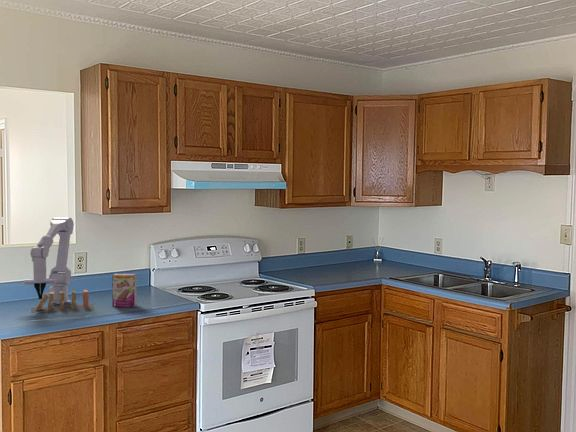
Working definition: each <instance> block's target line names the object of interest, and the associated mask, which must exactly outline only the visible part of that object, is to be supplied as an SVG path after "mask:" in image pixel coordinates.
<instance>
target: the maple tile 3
mask: <svg viewBox="0 0 576 432" xmlns="http://www.w3.org/2000/svg"><path fill="white" fill-rule="evenodd" d="M59 306H60V310H61V309H64V306H65V303H64V291H60V304H59Z"/></svg>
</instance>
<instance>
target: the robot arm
mask: <svg viewBox="0 0 576 432" xmlns="http://www.w3.org/2000/svg"><path fill="white" fill-rule="evenodd" d="M74 226H75V225H74V221H73V219H72V217H54V216H53V217H51V220H50V228H48V231H47V233H46V235H43V236H42V237H41V238H40V239H39V241H38V243H37V245H36V246H33V247H32V248H31V250H30V257H31V262H32V265H33V266H32V267H33V279H25V280H23V286H26V285H33V287H34V288H35V291H36V293H37V296H38V300H41V299H42V297H43V296H44V291H45V288H46V287H47V284H49V285H51V286H49V288H48V293H49V292H54V296H53V304H58V305H60V291H64V304H65V303H70V302H71V300H69V294H68V293H69V289H68V288H69V287H68V286H69V285H70V284H71V282H72V271H71V269H70V268H68V265H67V264H68V256H69V248H70V242H71V241H70V240H71V235H72V234H73V232H74ZM57 235H58V236H59V238H58V239H59V240H58V249H57V255H56V263H55V266H54V267H53V268H51V269H50V272H49V275H48V278H47V258H48V256H49V253H50V249H51V247H52V246H53V244H54V238H55V237H56V236H57Z"/></svg>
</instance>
